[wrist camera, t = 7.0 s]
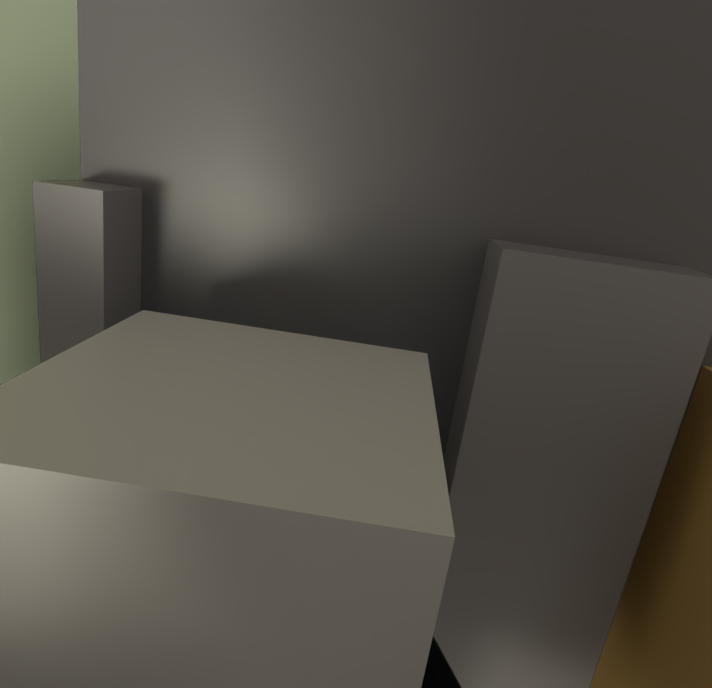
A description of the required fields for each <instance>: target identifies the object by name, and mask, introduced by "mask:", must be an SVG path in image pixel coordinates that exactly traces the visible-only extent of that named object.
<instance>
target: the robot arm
mask: <svg viewBox="0 0 712 688" xmlns="http://www.w3.org/2000/svg"><path fill="white" fill-rule="evenodd" d="M421 688H462V687H461V686H460V684H459V682H458V680H457V678H456V676H455V675H454V673H453V671H452V669H451V667H450V665H449V664H448V662H447V660H446V658H445V656H444V654H443V652H442V651H441V649H440V647H439V645H438V643H437V641H436V640H435V638H434V636H433V638H432V642H431V647H430V651H429V656H428V660H427V664H426V669H425V673H424V678H423V682H422V687H421Z"/></svg>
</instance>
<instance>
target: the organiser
mask: <svg viewBox="0 0 712 688" xmlns="http://www.w3.org/2000/svg"><path fill="white" fill-rule="evenodd" d="M77 10H78V61H79V111H80V162H81V180H49V181H32V185H33V207H34V229H35V250H36V272H37V294H38V316H39V338H40V359H41V363H43V362H45V361H47V360H49V359H51V358H52V357H54V356H56V355H58V354H60V353H62V352H64V351H66V350H68V349H70V348H72V347H73V346H75V345H77V344H79V343H81V342H83V341H85V340H87V339H89V338H91V337H93V336H94V335H96V334H98V333H100V332H102V331H104V330H106V329H108V328H110V327H112V326H113V325H115V324H117V323H119V322H121V321H123V320H125V319H127V318H129V317H131V316H133V315H134V314H136V313H138V312H140V311H142V310H146V311H153V312H159V313H166V314H173V315H179V316H186V317H192V318H199V319H205V320H212V321H218V322H225V323H231V324H238V325H245V326H251V327H258V328H264V329H271V330H277V331H284V332H290V333H297V334H303V335H310V336H317V337H323V338H330V339H336V340H343V341H349V342H356V343H362V344H369V345H376V346H382V347H389V348H395V349H402V350H408V351H415V352H421V353H427V355H428V362H429V368H430V375H431V381H432V388H433V395H434V401H435V408H436V414H437V421H438V428H439V434H440V441H441V447H442V454H443V461H444V467H445V474H446V480H447V487H448V494H449V500H450V507H451V513H452V520H453V527H454V533H455V540H454V545H453V549H452V554H451V558H450V563H449V567H448V571H447V576H446V580H445V585H444V589H443V594H442V598H441V602H440V607H439V611H438V616H437V620H436V625H435V629H434V633H433V636H434V638H435V640H436V641H437V643H438V645H439V647H440V649H441V651H442V652H443V654H444V656H445V658H446V660H447V662H448V664H449V665H450V667H451V669H452V671H453V673H454V675H455V676H456V678H457V680H458V682H459V684H460V686H461V687H462V688H590V687H591V684H592V681H593V678H594V675H595V673H596V670H597V667H598V664H599V661H600V658H601V655H602V653H603V650H604V647H605V644H606V641H607V638H608V635H609V632H610V630H611V627H612V624H613V621H614V618H615V615H616V612H617V610H618V607H619V604H620V601H621V598H622V595H623V592H624V589H625V587H626V584H627V581H628V578H629V575H630V572H631V569H632V567H633V564H634V561H635V558H636V555H637V552H638V549H639V546H640V544H641V541H642V538H643V535H644V532H645V529H646V526H647V524H648V521H649V518H650V515H651V512H652V509H653V506H654V504H655V501H656V498H657V495H658V492H659V489H660V486H661V483H662V481H663V478H664V475H665V472H666V469H667V466H668V463H669V461H670V458H671V455H672V452H673V449H674V446H675V443H676V440H677V438H678V435H679V432H680V429H681V426H682V423H683V420H684V418H685V415H686V412H687V409H688V406H689V403H690V400H691V397H692V395H693V392H694V389H695V386H696V383H697V380H698V377H699V375H700V372H701V369H702V366H708V367H712V0H77Z"/></svg>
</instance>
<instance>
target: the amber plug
mask: <svg viewBox="0 0 712 688" xmlns="http://www.w3.org/2000/svg"><path fill="white" fill-rule="evenodd" d="M590 688H712V367H708V366H702V369H701V372H700V375H699V377H698V380H697V383H696V386H695V389H694V392H693V395H692V397H691V400H690V403H689V406H688V409H687V412H686V415H685V418H684V420H683V423H682V426H681V429H680V432H679V435H678V438H677V440H676V443H675V446H674V449H673V452H672V455H671V458H670V461H669V463H668V466H667V469H666V472H665V475H664V478H663V481H662V483H661V486H660V489H659V492H658V495H657V498H656V501H655V504H654V506H653V509H652V512H651V515H650V518H649V521H648V524H647V526H646V529H645V532H644V535H643V538H642V541H641V544H640V546H639V549H638V552H637V555H636V558H635V561H634V564H633V567H632V569H631V572H630V575H629V578H628V581H627V584H626V587H625V589H624V592H623V595H622V598H621V601H620V604H619V607H618V610H617V612H616V615H615V618H614V621H613V624H612V627H611V630H610V632H609V635H608V638H607V641H606V644H605V647H604V650H603V653H602V655H601V658H600V661H599V664H598V667H597V670H596V673H595V675H594V678H593V681H592V684H591V687H590Z"/></svg>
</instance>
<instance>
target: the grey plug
mask: <svg viewBox="0 0 712 688" xmlns="http://www.w3.org/2000/svg"><path fill="white" fill-rule="evenodd" d="M454 540H455V533H454V527H453V520H452V513H451V507H450V500H449V494H448V487H447V480H446V474H445V467H444V461H443V454H442V447H441V441H440V434H439V428H438V421H437V414H436V408H435V401H434V395H433V388H432V381H431V375H430V368H429V362H428V355H427V353H421V352H415V351H408V350H402V349H395V348H389V347H382V346H376V345H369V344H362V343H356V342H349V341H343V340H336V339H330V338H323V337H317V336H310V335H303V334H297V333H290V332H284V331H277V330H271V329H264V328H258V327H251V326H245V325H238V324H231V323H225V322H218V321H212V320H205V319H199V318H192V317H186V316H179V315H173V314H166V313H159V312H153V311H146V310H142V311H140V312H138V313H136V314H134V315H133V316H131V317H129V318H127V319H125V320H123V321H121V322H119V323H117V324H115V325H113V326H112V327H110V328H108V329H106V330H104V331H102V332H100V333H98V334H96V335H94V336H93V337H91V338H89V339H87V340H85V341H83V342H81V343H79V344H77V345H75V346H73V347H72V348H70V349H68V350H66V351H64V352H62V353H60V354H58V355H56V356H54V357H52V358H51V359H49V360H47V361H45V362H43V363H41V364H39V365H37V366H35V367H33V368H31V369H30V370H28V371H26V372H24V373H22V374H20V375H18V376H16V377H14V378H12V379H11V380H9V381H7V382H5V383H3V384H1V385H0V688H421V687H422V682H423V678H424V673H425V669H426V664H427V660H428V656H429V651H430V647H431V642H432V638H433V633H434V629H435V625H436V620H437V616H438V611H439V607H440V602H441V598H442V594H443V589H444V585H445V580H446V576H447V571H448V567H449V563H450V558H451V554H452V549H453V545H454Z"/></svg>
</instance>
